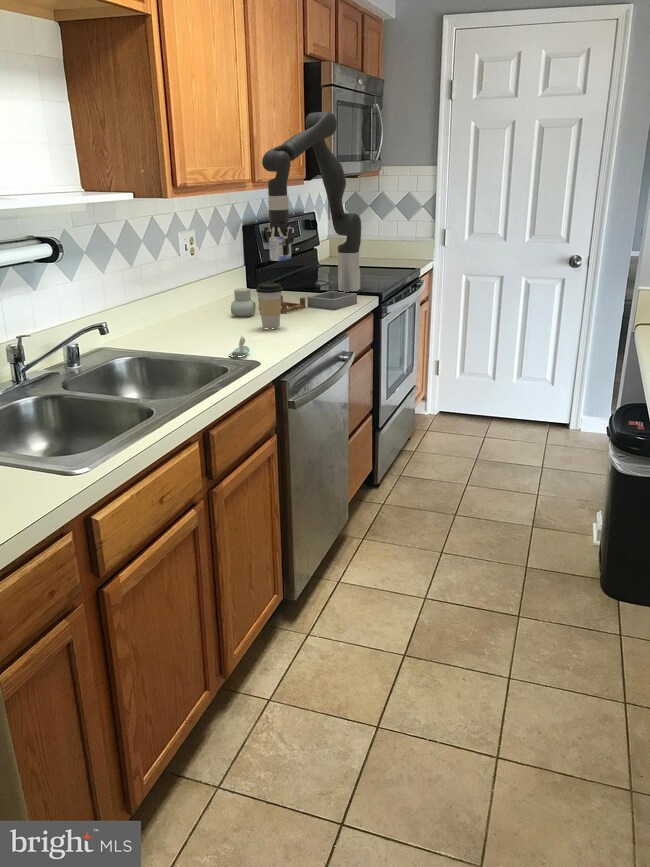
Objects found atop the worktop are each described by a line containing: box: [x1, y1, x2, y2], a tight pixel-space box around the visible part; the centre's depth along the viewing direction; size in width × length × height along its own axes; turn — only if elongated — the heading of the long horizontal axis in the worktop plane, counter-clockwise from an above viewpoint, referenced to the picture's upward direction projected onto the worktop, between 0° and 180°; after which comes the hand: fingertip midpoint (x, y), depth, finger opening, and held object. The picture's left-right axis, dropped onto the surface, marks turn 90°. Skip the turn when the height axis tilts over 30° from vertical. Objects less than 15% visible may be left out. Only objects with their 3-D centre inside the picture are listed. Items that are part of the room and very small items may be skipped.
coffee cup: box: [255, 282, 284, 330], centre depth 248 cm, size 9×9×15 cm
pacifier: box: [228, 335, 250, 358], centre depth 214 cm, size 7×6×6 cm
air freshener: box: [230, 287, 257, 318], centre depth 270 cm, size 11×8×10 cm
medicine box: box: [268, 236, 292, 262], centre depth 273 cm, size 8×4×9 cm, turn 143°
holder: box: [258, 294, 306, 314], centre depth 281 cm, size 13×13×4 cm
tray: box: [306, 290, 358, 311], centre depth 286 cm, size 16×13×4 cm
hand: (280, 254), depth 274 cm, fingers closed on medicine box, 4 cm apart
